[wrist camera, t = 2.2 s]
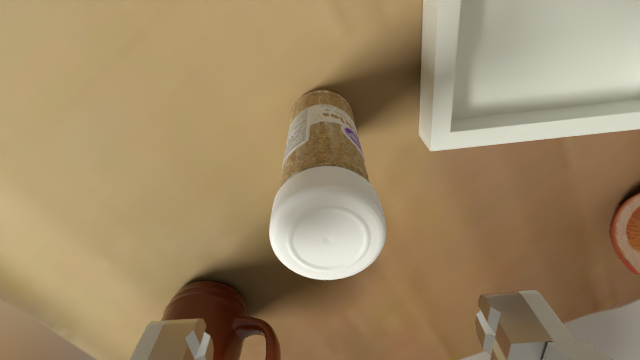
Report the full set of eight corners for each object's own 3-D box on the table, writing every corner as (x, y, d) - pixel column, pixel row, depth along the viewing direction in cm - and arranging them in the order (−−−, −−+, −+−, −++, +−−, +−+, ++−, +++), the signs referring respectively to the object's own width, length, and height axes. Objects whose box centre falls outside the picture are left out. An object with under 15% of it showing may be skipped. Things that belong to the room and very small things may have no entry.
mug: (192, 338, 36) (154, 453, 28) (148, 281, 32) (85, 395, 23) (300, 313, 35) (296, 427, 26) (268, 250, 31) (249, 359, 22)
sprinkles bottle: (366, 113, 25) (414, 232, 13) (326, 159, 26) (337, 300, 15) (315, 73, 23) (317, 166, 11) (276, 124, 25) (244, 250, 13)
